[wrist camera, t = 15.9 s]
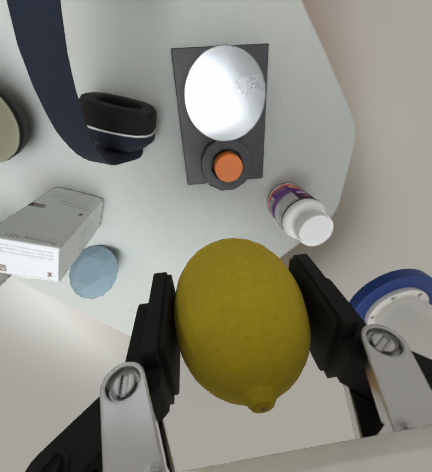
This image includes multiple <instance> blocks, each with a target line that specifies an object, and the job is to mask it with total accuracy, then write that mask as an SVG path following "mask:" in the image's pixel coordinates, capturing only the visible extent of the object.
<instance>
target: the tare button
mask: <svg viewBox="0 0 432 472" xmlns="http://www.w3.org/2000/svg"><path fill="white" fill-rule="evenodd" d="M242 169H243V165H242V161H241V160H240V158H239V157H238V156H237V155H236V154H235V153H233V152H230V151H225V152H222V153H220V154H219V155H218V156H217V157H216V159H215V161H214V170H215V172H216V175H217V176H218V178H219V179H221V180H222V181H225V182H232V181H234V180H236V179H237V178H238V177H239V176H240V175H241V173H242Z"/></svg>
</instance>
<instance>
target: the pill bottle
mask: <svg viewBox="0 0 432 472" xmlns="http://www.w3.org/2000/svg"><path fill="white" fill-rule="evenodd" d="M267 206H268V209H269V211H270V213H271V214H272V215H273V217H274V218H275V219H276V221H277V222H278V223H279V225H280V226H281V227H282V228H283V230H284V231H285V232H286V233H287V234H288V235H289V236H290V237H292V238H294V239H299V240H300V241H301V242H302V243H303V244H305V245H307V246H317V245H319V244H322V243H323V242H325V241H326V240H327V239H328V238H329V237H330V235H331V233H332V231H333V222H332V220H331V219H330V218H329V217H328V216H327V215H326V210H325V208H324V206H323V205H322V204H321V203H320V202H319V201H317V200H316V199H315V198H313V197H312V196H311V195H309V194H308V193H307V192H305V191H304V190H302V189H301V188H300V187H298V186H297V185H295V184H291V183H285V184H281V185H279V186H277V187H276V188H275V189H273V191H272V192H271V193H270V195H269V197H268V201H267Z"/></svg>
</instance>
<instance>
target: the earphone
mask: <svg viewBox="0 0 432 472" xmlns="http://www.w3.org/2000/svg"><path fill="white" fill-rule="evenodd" d="M7 4H8V8H9V12H10V16H11V20H12V24H13V28H14V32H15V36H16V40H17V44H18V47H19V50H20V52H21V55H22V58H23V60H24V63H25V66H26V68H27V71H28V74H29V76H30V79H31V82H32V84H33V87H34V89H35V91H36V93H37V95H38V97H39V99H40V101H41V103H42V106H43V108H44V110H45V112H46V114H47V116H48V117H49V119H50V121H51V123H52V124H53V126H54V128H55V130H56V131H57V133H58V134H59V135H60V136H61V138H62V139H63V140H64V141H65V142H66V144H67V145H68V146H69V147H70V148H71V149H72V150H73V151H74V152H75V153H76V154H78V155H79V156H81V157H83V158H85V159H87V160H89V161H94V162H99V163H104V164H110V165H118V164H121V163H125V162H129V161H132V160H135V159H138V158H140V157H141V156H142V154H143V148H145V147H146V146H147V145H149V144H150V143H152V142H153V140H154V139H155V128H156V111H155V109H154V107H153V106H151V105H149V104H147V103H144V102H141V101H137V100H134V99H130V98H126V97H122V96H117V95H112V94H107V93H99V92H90V93H85V94H82V95H81V96H80V98H79V99H78V96H77V93H76V89H75V85H74V81H73V76H72V72H71V67H70V63H69V58H68V54H67V47H66V40H65V33H64V26H63V18H62V11H61V2H60V0H7ZM95 143H96V144H95Z"/></svg>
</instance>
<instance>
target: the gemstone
mask: <svg viewBox="0 0 432 472" xmlns="http://www.w3.org/2000/svg"><path fill="white" fill-rule="evenodd" d="M117 272H118V265H117V260H116V257H115V256H114V254H113V253H112V252H111V250H109V249H107V248H105V247H103V246H92V247H89V248H87V249H84V250H83V251H82V252H81V253H80V255H79V256H78V257H77V259H76V260H75V262H74V263H73V264H72V266H71V269H70V274H69V278H70V284H71V287H72V288H73V290H74V291H75V293H76V294H78V295H79V296H81V297H83V298H90V299H94V298H97V297H99V296H102V295H104V294H105V293H106V292H107V291H108V290H109V289H111V287H112V285H113V284H114V282H115V280H116V278H117Z"/></svg>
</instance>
